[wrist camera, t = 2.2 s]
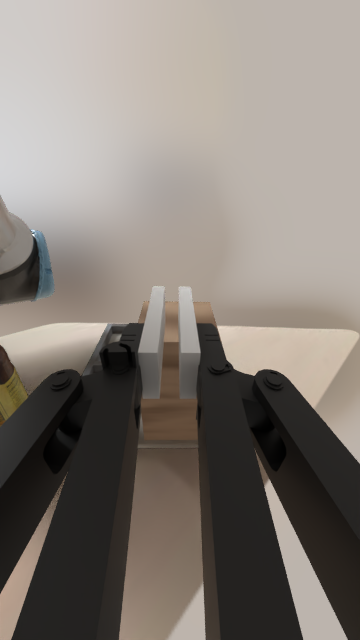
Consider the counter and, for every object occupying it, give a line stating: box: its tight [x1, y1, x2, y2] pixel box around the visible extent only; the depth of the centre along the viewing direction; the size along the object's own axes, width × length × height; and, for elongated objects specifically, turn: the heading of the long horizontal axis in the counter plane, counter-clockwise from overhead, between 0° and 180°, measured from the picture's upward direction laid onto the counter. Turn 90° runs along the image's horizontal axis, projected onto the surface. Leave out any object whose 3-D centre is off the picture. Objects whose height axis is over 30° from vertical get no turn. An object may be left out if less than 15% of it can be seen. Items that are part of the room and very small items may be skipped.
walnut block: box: [138, 301, 222, 440], centre depth 27 cm, size 8×8×16 cm
